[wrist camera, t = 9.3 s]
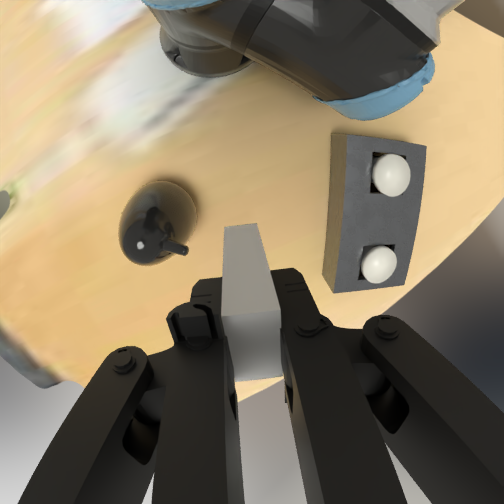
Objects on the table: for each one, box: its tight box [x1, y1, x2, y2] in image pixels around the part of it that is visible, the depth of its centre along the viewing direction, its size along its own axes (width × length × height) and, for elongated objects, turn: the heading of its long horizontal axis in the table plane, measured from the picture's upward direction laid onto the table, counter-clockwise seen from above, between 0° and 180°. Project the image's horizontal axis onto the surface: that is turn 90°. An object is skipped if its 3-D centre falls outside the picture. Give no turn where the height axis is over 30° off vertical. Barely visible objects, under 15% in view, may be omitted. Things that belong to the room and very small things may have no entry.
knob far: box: [361, 245, 397, 283], centre depth 42 cm, size 6×6×7 cm
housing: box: [322, 133, 427, 293], centre depth 40 cm, size 24×14×6 cm, turn 1°
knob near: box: [371, 154, 410, 197], centre depth 36 cm, size 6×6×7 cm
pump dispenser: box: [118, 181, 197, 266], centre depth 33 cm, size 10×10×15 cm
